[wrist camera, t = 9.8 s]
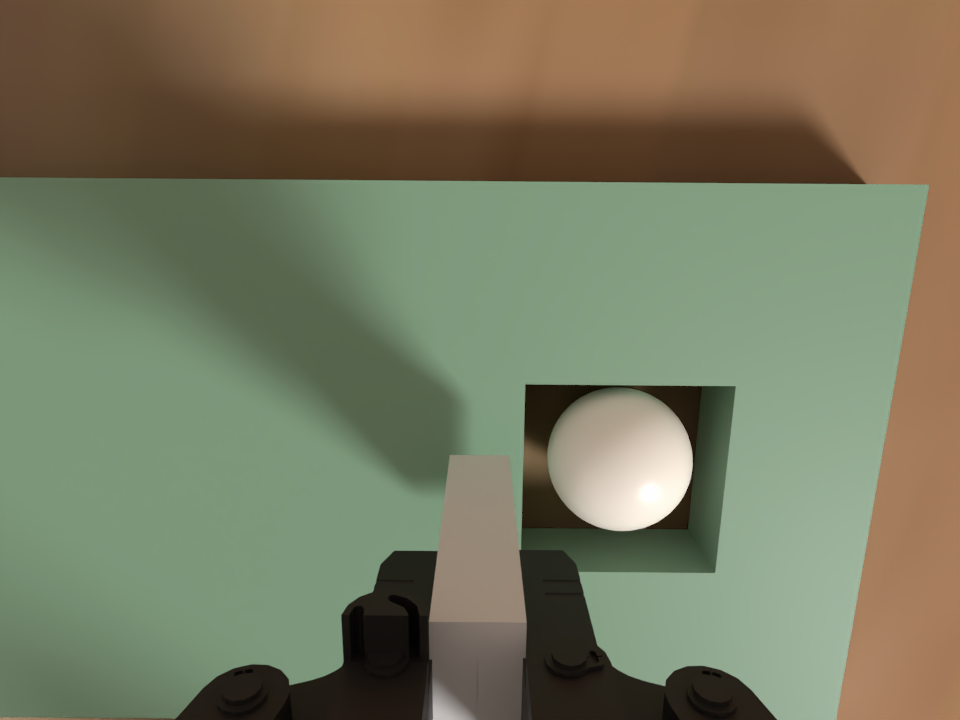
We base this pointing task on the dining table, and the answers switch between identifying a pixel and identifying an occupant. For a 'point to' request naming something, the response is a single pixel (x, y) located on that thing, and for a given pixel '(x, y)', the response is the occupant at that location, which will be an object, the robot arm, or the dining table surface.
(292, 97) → the dining table surface
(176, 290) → the putting board
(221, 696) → the robot arm
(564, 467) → the ball
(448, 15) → the dining table surface
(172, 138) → the dining table surface
